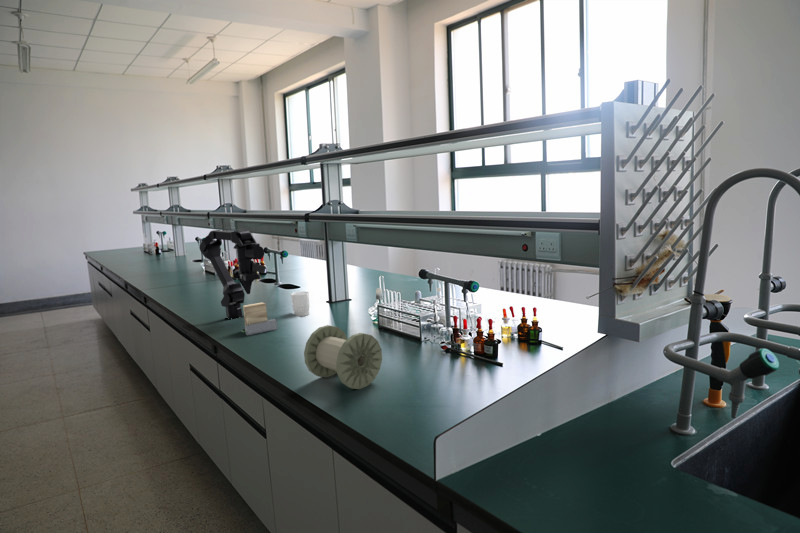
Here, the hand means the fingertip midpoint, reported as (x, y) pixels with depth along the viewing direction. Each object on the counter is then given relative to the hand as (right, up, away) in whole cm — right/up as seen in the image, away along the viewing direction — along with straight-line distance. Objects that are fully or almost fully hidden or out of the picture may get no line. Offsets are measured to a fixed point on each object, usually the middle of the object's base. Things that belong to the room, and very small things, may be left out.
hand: (248, 294), depth 228 cm
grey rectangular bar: (+12, -14, -23) cm, 29 cm away
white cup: (+22, -10, +7) cm, 25 cm away
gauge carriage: (+9, -13, -18) cm, 24 cm away
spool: (+51, -21, -79) cm, 96 cm away
